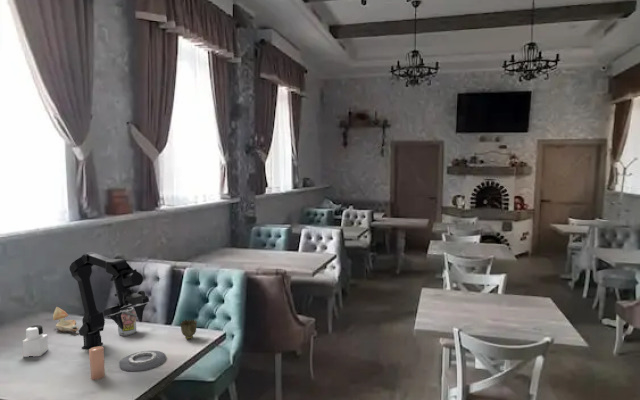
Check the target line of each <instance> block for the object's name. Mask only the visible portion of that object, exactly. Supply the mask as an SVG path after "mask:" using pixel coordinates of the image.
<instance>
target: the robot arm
mask: <svg viewBox="0 0 640 400" xmlns="http://www.w3.org/2000/svg"><path fill="white" fill-rule="evenodd" d="M94 266H97V267H99V268H101V269H104V270H105V272H106V273H107V274H108V275H110V276H111V278H110V280H109V281H110V282H113V285H114V289H115V292H116V293H115V294H114V297H117V300H118V303H116V305H112V306H109V307H107V308H104V309H103V312H100V311H99V310H98V307H97V304H96V300H95V296H94V291H93V286H92V282H91V275H92V274H93V267H94ZM69 271H70V275H71V277H72V278H73V279H74V280H76V282H77V285H78V290H79V294H80V298H81V302H82V307H83V311H84V314H83V317H82V320H81V321H82V326H81V327H80V328H79V329H78V334H79V336H82V338H83V346H82V347H81V349H84V350H89V349H91V348H93V347H97V346H102V345H104V342H102V335H101V332H102V331H104V328H105V324H106V323H105V322H106V318H104V317H107V318H110V319H111V320H112V321H113V322H115V325H117V327H118V326H119V327H120V328H121V329H124V327H123V322H122V318H121V315H122V312H120V310H122V309H125V308H128V307H133V308H134V311H135V312H136V314H137V317H136V318H137V319H138V321H139V322H140V323H142V322H143V317H144V310H145V307H146V306H147V305H148V303H150V298H149V296H147V295H146V293H145V290H143V289H142V290H138V292H135V291H134V289H131V288H134V287H138V286H141V285H142V284H143V282H144V277H143V275H142V274H141V273H140V272H138V270H137V269H136V268H135V269H133V267H132V266H131V265H130V264H129V263H128V262H127V260H125V259H123V258H110V257H106V256H104V255H101V254H99V253H96V252H94V251H91V252H86V253H84V254H82V255H81V256H80V257H79V258H77V259H75V260H74V261H73V262H71V264H70V266H69Z"/></svg>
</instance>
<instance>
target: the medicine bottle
mask: <svg viewBox="0 0 640 400" xmlns="http://www.w3.org/2000/svg"><path fill="white" fill-rule="evenodd" d="M25 335H26V338H25V339H24V340H22V341H21V342H22V343H21V344H22V357H23V358H27V357H29V356H33V357H41V356H42V355H44V354H45V353H46V352H48V351H49V337H48V336H49V335H48V334H47V333H46V334H44V329H43V326H42V325H40V324H37V325H31V326H28V327H27V328H26V330H25Z"/></svg>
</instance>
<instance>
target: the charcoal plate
mask: <svg viewBox="0 0 640 400" xmlns="http://www.w3.org/2000/svg"><path fill="white" fill-rule="evenodd" d="M146 351H147V352H154V353H156V359H155V360H154V361H153V362H151V363H148V364H145V365H139V366H138V365H131V364H129V357H131V356H132V355H134V354H137V353H140V352H146ZM151 357H152V356H140V357H137V358H135V359H134V361H144V360H148V359H150V358H151ZM166 360H167V356H166V354H165V352H163V351H160V350H144V351H139V352H134V353H131V354H129V355H126V356H125V357H123V358H122V359H121V360H119V363H118V367H119V369H120V370H122V371H124V372H132V373H134V372H143V371H148V370H152V369H154V368H156V367H158V366H161V365H162V364H163V363H164V362H166Z"/></svg>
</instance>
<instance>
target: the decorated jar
mask: <svg viewBox="0 0 640 400" xmlns="http://www.w3.org/2000/svg"><path fill="white" fill-rule="evenodd" d="M120 312H122V315H121V318H122V322H123V327H124V329H121V328H120V327H119V326H118V325H117V331H118V335H119V336H122V337H128V336H132V335H133V334H136V332H137V318H138V317H137V314H136V312H135V309H134V306H131V307H128V308H125V309H122V310H120Z"/></svg>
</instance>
